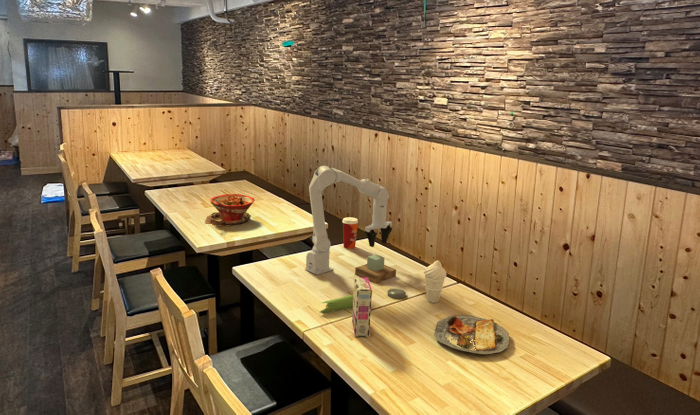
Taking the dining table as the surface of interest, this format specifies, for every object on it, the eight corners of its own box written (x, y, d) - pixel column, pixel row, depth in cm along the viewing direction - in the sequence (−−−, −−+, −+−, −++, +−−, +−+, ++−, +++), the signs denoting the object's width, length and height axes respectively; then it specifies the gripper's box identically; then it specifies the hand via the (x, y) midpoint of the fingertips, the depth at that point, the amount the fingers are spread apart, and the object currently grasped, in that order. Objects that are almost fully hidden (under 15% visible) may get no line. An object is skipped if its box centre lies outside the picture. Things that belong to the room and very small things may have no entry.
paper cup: (355, 250, 252) (356, 222, 249) (339, 248, 254) (340, 220, 250) (358, 245, 260) (359, 217, 256) (343, 243, 261) (344, 216, 257)
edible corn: (371, 296, 192) (365, 288, 196) (320, 307, 183) (315, 298, 187) (368, 307, 195) (363, 299, 198) (319, 318, 186) (313, 310, 189)
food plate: (440, 315, 189) (441, 306, 188) (508, 327, 182) (509, 317, 181) (429, 351, 165) (430, 341, 164) (507, 366, 159) (508, 355, 158)
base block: (375, 283, 215) (376, 276, 214) (355, 274, 223) (355, 267, 222) (395, 276, 223) (396, 269, 222) (375, 267, 231) (375, 261, 230)
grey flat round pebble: (397, 301, 200) (397, 297, 199) (383, 295, 204) (383, 291, 204) (409, 296, 204) (409, 292, 204) (395, 290, 209) (395, 287, 209)
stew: (227, 231, 274) (226, 200, 269) (195, 222, 286) (194, 193, 282) (264, 219, 296) (264, 191, 292) (233, 212, 309) (232, 185, 305)
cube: (375, 271, 219) (376, 260, 218) (366, 267, 222) (367, 256, 221) (383, 268, 222) (384, 257, 221) (375, 265, 226) (375, 254, 224)
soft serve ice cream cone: (430, 306, 195) (433, 265, 191) (417, 298, 202) (420, 258, 198) (448, 303, 199) (452, 262, 195) (435, 294, 206) (438, 255, 202)
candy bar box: (370, 337, 171) (372, 290, 167) (354, 337, 171) (356, 290, 167) (366, 321, 182) (368, 276, 178) (351, 321, 182) (353, 276, 177)
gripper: (374, 219, 219) (372, 250, 223) (397, 213, 229) (395, 243, 233) (362, 215, 224) (360, 246, 228) (385, 210, 234) (384, 239, 238)
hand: (377, 244), depth 231 cm, fingers open, 7 cm apart
